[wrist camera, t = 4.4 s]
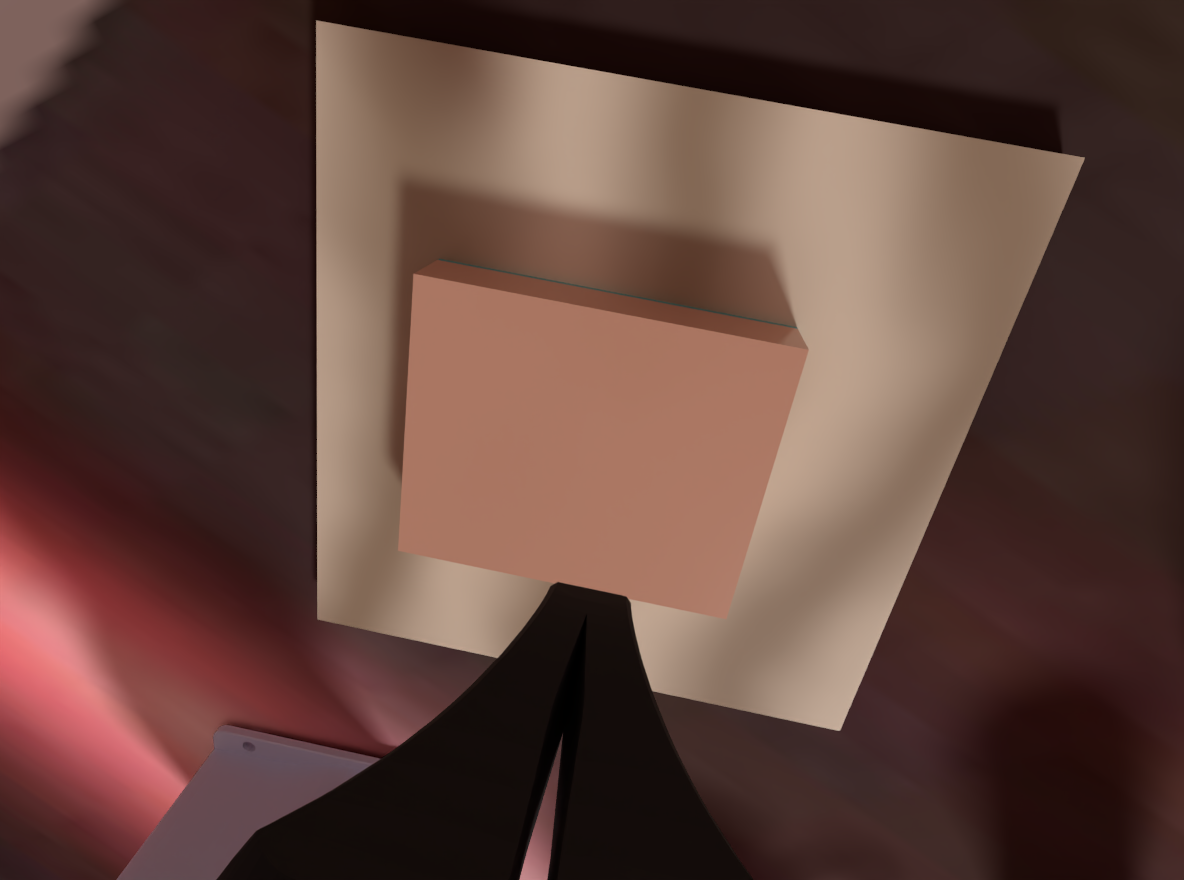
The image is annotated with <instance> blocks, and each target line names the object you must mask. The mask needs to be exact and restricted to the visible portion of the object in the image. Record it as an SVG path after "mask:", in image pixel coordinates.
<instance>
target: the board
mask: <svg viewBox="0 0 1184 880" xmlns="http://www.w3.org/2000/svg"><path fill="white" fill-rule="evenodd" d="M1084 159H1085V158H1083V157H1077V156H1071V155H1066V154H1060V153H1055V152H1049V151H1043V150H1038V149H1032V148H1027V147H1021V146H1016V145H1010V144H1004V143H999V142H993V141H988V140H982V139H976V138H971V137H965V136H960V135H954V134H948V133H943V132H937V131H932V130H926V129H920V128H915V127H909V126H904V125H898V124H892V123H887V122H881V121H876V120H870V119H865V118H859V117H853V116H848V115H842V114H837V113H831V112H825V111H820V110H814V109H809V108H803V107H797V106H792V105H786V104H781V103H775V102H769V101H764V100H758V99H753V98H747V97H742V96H736V95H730V94H725V93H719V92H714V91H708V90H702V89H697V88H691V87H686V86H680V85H674V84H669V83H663V82H658V81H652V80H646V79H641V78H635V77H630V76H624V75H618V74H613V73H607V72H602V71H596V70H591V69H585V68H579V67H574V66H568V65H563V64H557V63H551V62H546V61H540V60H535V59H529V58H523V57H518V56H512V55H507V54H501V53H495V52H490V51H484V50H479V49H473V48H468V47H462V46H456V45H451V44H445V43H440V42H434V41H428V40H423V39H417V38H412V37H406V36H400V35H395V34H389V33H384V32H378V31H372V30H367V29H361V28H356V27H350V26H344V25H339V24H333V23H328V22H322V21H317V20H316V206H317V619H318V620H323V621H327V622H332V623H337V624H341V625H346V626H351V627H355V628H360V629H365V630H370V631H374V632H379V633H384V634H388V635H393V636H398V637H402V638H407V639H412V640H416V641H421V642H426V643H430V644H435V645H440V646H444V647H449V648H454V649H458V650H463V651H468V652H472V653H477V654H482V655H486V656H491V657H496V658H498V657H499V656H500V655H501V654H502V653H503V651H504V650H505V649H506V648H507V647H508V646H509V644H510V643H511V642H512V641H513V639H514V638H515V637H516V636H517V635H518V633H519V632H520V631H521V630H522V629H523V627H524V626H525V625H526V623H527V622H528V621H529V619H530V618H531V617H532V615H533V614H534V613H535V611H536V610H537V608H538V607H539V605H540V604H541V602H542V601H543V599H544V597H545V596H546V594H547V592H548V590H549V588H550V586H551V585H553V584H555V583H550V582H545V581H540V580H536V579H531V578H526V577H521V576H517V575H512V574H507V573H502V572H497V571H493V570H488V569H483V568H478V567H473V566H469V565H464V564H459V563H454V562H449V561H445V560H440V559H435V558H430V557H426V556H421V555H416V554H411V553H406V552H402V551H398V543H399V525H400V507H401V489H402V471H403V453H404V435H405V417H406V399H407V381H408V363H409V346H410V328H411V310H412V292H413V274H414V273H416V272H417V271H419V270H421V269H422V268H424V267H426V266H428V265H429V264H431V263H433V262H435V261H436V260H438V259H445V260H450V261H455V262H460V263H465V264H471V265H476V266H481V267H486V268H492V269H497V270H502V271H507V272H512V273H518V274H523V275H528V276H533V277H539V278H544V279H549V280H554V281H560V282H565V283H570V284H575V285H580V286H586V287H591V288H596V289H601V290H607V291H612V292H617V293H622V294H627V295H633V296H638V297H643V298H648V299H654V300H659V301H664V302H669V303H674V304H680V305H685V306H690V307H695V308H701V309H706V310H711V311H716V312H722V313H727V314H732V315H737V316H742V317H748V318H753V319H758V320H763V321H769V322H774V323H779V324H784V325H789V326H795V327H797V328H798V330H799V332H800V334H801V336H802V338H803V340H804V341H805V343H806V345H807V347H808V349H809V351H808V354H807V358H806V361H805V364H804V367H803V371H802V374H801V377H800V380H799V384H798V387H797V390H796V393H795V397H794V400H793V403H792V407H791V410H790V413H789V416H788V420H787V423H786V426H785V429H784V433H783V436H782V439H781V442H780V446H779V449H778V452H777V455H776V459H775V462H774V465H773V469H772V472H771V475H770V478H769V482H768V485H767V488H766V491H765V495H764V498H763V501H762V504H761V508H760V511H759V514H758V518H757V521H756V524H755V527H754V531H753V534H752V537H751V540H750V544H749V547H748V550H747V553H746V557H745V560H744V563H743V567H742V570H741V573H740V576H739V580H738V583H737V586H736V589H735V593H734V596H733V599H732V602H731V606H730V609H729V612H728V616H727V619H722V618H718V617H713V616H708V615H703V614H699V613H694V612H689V611H684V610H679V609H675V608H670V607H665V606H660V605H655V604H651V603H646V602H641V601H636V600H631V599H629V601H630V602H631V611H632V618H633V624H634V629H635V634H636V638H637V642H638V646H639V651H640V654H641V658H642V661H643V665H644V668H645V671H646V674H647V677H648V680H649V683H650V686H651V689H652V691H655V692H660V693H664V694H669V695H674V696H678V697H683V698H688V699H692V700H697V701H702V702H706V703H711V704H716V705H720V706H725V707H730V708H734V709H739V710H744V711H748V712H753V713H758V714H762V715H767V716H772V717H776V718H781V719H786V720H791V721H795V722H800V723H805V724H809V725H814V726H819V727H823V728H828V729H833V730H837V731H840V729H841V727H842V725H843V722H844V720H845V718H846V715H847V713H848V711H849V708H850V706H851V704H852V701H853V699H854V697H855V694H856V692H857V690H858V687H859V685H860V683H861V680H862V678H863V676H864V673H865V671H866V669H867V666H868V664H869V662H870V659H871V657H872V655H873V652H874V650H875V648H876V645H877V643H878V640H879V638H880V636H881V633H882V631H883V629H884V626H885V624H886V622H887V619H888V617H889V615H890V612H891V610H892V608H893V605H894V603H895V601H896V598H897V596H898V594H899V591H900V589H901V587H902V584H903V582H904V580H905V577H906V575H907V573H908V570H909V568H910V566H911V563H912V561H913V559H914V556H915V554H916V552H917V549H918V547H919V545H920V542H921V540H922V538H923V535H924V533H925V531H926V528H927V526H928V524H929V521H930V519H931V517H932V514H933V512H934V510H935V507H936V505H937V503H938V500H939V498H940V496H941V493H942V491H943V489H944V486H945V484H946V482H947V479H948V477H949V474H950V472H951V470H952V467H953V465H954V463H955V460H956V458H957V456H958V453H959V451H960V449H961V446H962V444H963V442H964V439H965V437H966V435H967V432H968V430H969V428H970V425H971V423H972V421H973V418H974V416H975V414H976V411H977V409H978V407H979V404H980V402H981V400H982V397H983V395H984V393H985V390H986V388H987V386H988V383H989V381H990V379H991V376H992V374H993V372H994V369H995V367H996V365H997V362H998V360H999V358H1000V355H1001V353H1002V351H1003V348H1004V346H1005V344H1006V341H1007V339H1008V337H1009V334H1010V332H1011V330H1012V327H1013V325H1014V323H1015V320H1016V318H1017V316H1018V313H1019V311H1020V309H1021V306H1022V304H1023V301H1024V299H1025V297H1026V294H1027V292H1028V290H1029V287H1030V285H1031V283H1032V280H1033V278H1034V276H1035V273H1036V271H1037V269H1038V266H1039V264H1040V262H1041V259H1042V257H1043V255H1044V252H1045V250H1046V248H1047V245H1048V243H1049V241H1050V238H1051V236H1052V234H1053V231H1054V229H1055V227H1056V224H1057V222H1058V220H1059V217H1060V215H1061V213H1062V210H1063V208H1064V206H1065V203H1066V201H1067V199H1068V196H1069V194H1070V192H1071V189H1072V187H1073V185H1074V182H1075V180H1076V178H1077V175H1078V173H1079V171H1080V168H1081V166H1082V164H1083V161H1084Z"/></svg>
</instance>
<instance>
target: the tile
mask: <svg viewBox="0 0 1184 880" xmlns="http://www.w3.org/2000/svg"><path fill="white" fill-rule="evenodd" d="M808 351H809V349H808V347H807V345H806V343H805V341H804V340H803V338H802V336H801V334H800V332H799V330H798V328H797V327H795V326H789V325H784V324H779V323H774V322H769V321H763V320H758V319H753V318H748V317H742V316H737V315H732V314H727V313H722V312H716V311H711V310H706V309H701V308H695V307H690V306H685V305H680V304H674V303H669V302H664V301H659V300H654V299H648V298H643V297H638V296H633V295H627V294H622V293H617V292H612V291H607V290H601V289H596V288H591V287H586V286H580V285H575V284H570V283H565V282H560V281H554V280H549V279H544V278H539V277H533V276H528V275H523V274H518V273H512V272H507V271H502V270H497V269H492V268H486V267H481V266H476V265H471V264H465V263H460V262H455V261H450V260H445V259H438V260H436V261H435V262H433V263H431V264H429V265H428V266H426V267H424V268H422V269H421V270H419V271H417V272H416V273H414V274H413V292H412V310H411V328H410V346H409V363H408V381H407V399H406V417H405V435H404V453H403V471H402V489H401V507H400V525H399V543H398V551H402V552H406V553H411V554H416V555H421V556H426V557H430V558H435V559H440V560H445V561H449V562H454V563H459V564H464V565H469V566H473V567H478V568H483V569H488V570H493V571H497V572H502V573H507V574H512V575H517V576H521V577H526V578H531V579H536V580H540V581H545V582H550V583H557V582H561V583H565V584H570V585H575V586H580V587H585V588H589V589H594V590H599V591H604V592H609V593H613V594H618V595H623V596H626V597H627V598H628V599H631V600H636V601H641V602H646V603H651V604H655V605H660V606H665V607H670V608H675V609H679V610H684V611H689V612H694V613H699V614H703V615H708V616H713V617H718V618H722V619H727V616H728V612H729V609H730V606H731V602H732V599H733V596H734V593H735V589H736V586H737V583H738V580H739V576H740V573H741V570H742V567H743V563H744V560H745V557H746V553H747V550H748V547H749V544H750V540H751V537H752V534H753V531H754V527H755V524H756V521H757V518H758V514H759V511H760V508H761V504H762V501H763V498H764V495H765V491H766V488H767V485H768V482H769V478H770V475H771V472H772V469H773V465H774V462H775V459H776V455H777V452H778V449H779V446H780V442H781V439H782V436H783V433H784V429H785V426H786V423H787V420H788V416H789V413H790V410H791V407H792V403H793V400H794V397H795V393H796V390H797V387H798V384H799V380H800V377H801V374H802V371H803V367H804V364H805V361H806V358H807V354H808Z"/></svg>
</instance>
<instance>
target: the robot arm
mask: <svg viewBox="0 0 1184 880" xmlns="http://www.w3.org/2000/svg"><path fill="white" fill-rule="evenodd" d="M562 734H563V739H562V749H561V759H560V769H559V778H558V789H557V799H556V809H555V819H554V829H553V839H552V849H551V859H550V866H549V873H548V880H753V878H752V877H751V876H750V874H749V873H748V871H747V870H746V869H745V867H744V866H743V865H742V863H741V862H740V860H739V859H738V857H737V855H736V854H735V852H734V851H733V849H732V848H731V846H730V844H729V843H728V841H727V840H726V838H725V837H724V835H723V833H722V832H721V830H720V829H719V827H718V826H717V824H716V822H715V821H714V819H713V818H712V816H711V815H710V813H709V811H708V810H707V808H706V806H705V804H704V803H703V801H702V799H701V797H700V795H699V794H698V792H697V790H696V788H695V786H694V784H693V783H692V781H691V779H690V777H689V775H688V773H687V771H686V769H685V767H684V765H683V763H682V761H681V759H680V757H679V755H678V753H677V751H676V749H675V746H674V744H673V742H672V740H671V737H670V735H669V733H668V731H667V728H666V726H665V723H664V721H663V718H662V716H661V713H660V711H659V708H658V706H657V703H656V700H655V698H654V695H653V692H652V689H651V686H650V683H649V680H648V677H647V674H646V671H645V668H644V665H643V661H642V658H641V654H640V651H639V646H638V642H637V638H636V634H635V629H634V624H633V618H632V611H631V602H630V601H629V599H628V598H627V597H626V596H623V595H618V594H613V593H609V592H604V591H599V590H594V589H589V588H585V587H580V586H575V585H570V584H565V583H561V582H557V583H555V584H553V585H551V586H550V588H549V590H548V592H547V594H546V596H545V597H544V599H543V601H542V602H541V604H540V605H539V607H538V608H537V610H536V611H535V613H534V614H533V615H532V617H531V618H530V619H529V621H528V622H527V623H526V625H525V626H524V627H523V629H522V630H521V631H520V632H519V633H518V635H517V636H516V637H515V638H514V639H513V641H512V642H511V643H510V644H509V646H508V647H507V648H506V649H505V650H504V651H503V653H502V654H501V655H500V656H499V657H498V658H497V659H496V660H495V661H494V662H493V663H492V664H491V665H490V667H489V668H488V669H487V670H486V671H485V672H484V673H483V674H482V675H481V676H480V677H479V678H478V679H477V680H476V681H475V682H474V683H473V684H472V685H471V686H470V687H469V688H468V689H467V690H466V691H465V692H464V693H463V694H462V695H461V696H459V697H458V698H457V699H456V700H455V701H454V702H453V703H452V704H451V705H450V706H448V707H447V708H446V709H445V710H444V711H443V712H441V713H440V714H439V715H438V716H437V717H436V718H434V719H433V720H432V721H431V722H430V723H428V724H427V725H426V726H424V727H423V728H422V729H420V730H419V731H418V732H417V733H415V734H414V735H413V736H411V737H410V738H409V739H408V740H406V741H405V742H404V743H402V744H401V745H400V746H398V747H397V748H396V749H394V750H393V751H391V752H390V753H389V754H387V755H386V756H384V757H383V758H381V759H380V758H375V757H371V756H366V755H362V754H357V753H353V752H348V751H344V750H339V749H335V748H330V747H326V746H321V745H317V744H312V743H308V742H303V741H299V740H294V739H290V738H285V737H280V736H276V735H271V734H267V733H262V732H258V731H253V730H249V729H244V728H240V727H235V726H231V725H223V726H220V727H219V728H218V730H217V731H216V732H215V733H214V736H213V741H214V750H213V751H212V752H211V754H210V755H209V756H208V758H207V759H206V760H205V762H204V763H203V764H202V766H201V767H200V769H199V770H198V771H197V773H196V774H195V775H194V777H193V778H192V779H191V781H190V782H189V783H188V785H187V786H186V787H185V789H184V790H183V791H182V793H181V794H180V795H179V797H178V798H177V799H176V801H175V802H174V803H173V805H172V806H171V807H170V809H169V810H168V811H167V813H166V814H165V815H164V817H163V818H162V819H161V821H160V822H159V823H158V825H157V826H156V828H155V829H154V830H153V832H152V833H151V834H150V836H149V837H148V838H147V840H146V841H145V842H144V844H143V845H142V846H141V848H140V849H139V850H138V852H137V853H136V854H135V856H134V857H133V858H132V860H131V861H130V862H129V864H128V865H127V866H126V868H125V869H124V870H123V872H122V873H121V874H120V876H119V877H118V879H117V880H519V879H520V875H521V871H522V867H523V863H524V860H525V856H526V852H527V849H528V845H529V842H530V839H531V836H532V832H533V829H534V826H535V823H536V819H537V816H538V813H539V809H540V806H541V803H542V800H543V796H544V793H545V790H546V787H547V783H548V780H549V777H550V773H551V770H552V767H553V764H554V760H555V757H556V754H557V750H558V747H559V744H560V740H561V737H562Z"/></svg>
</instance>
